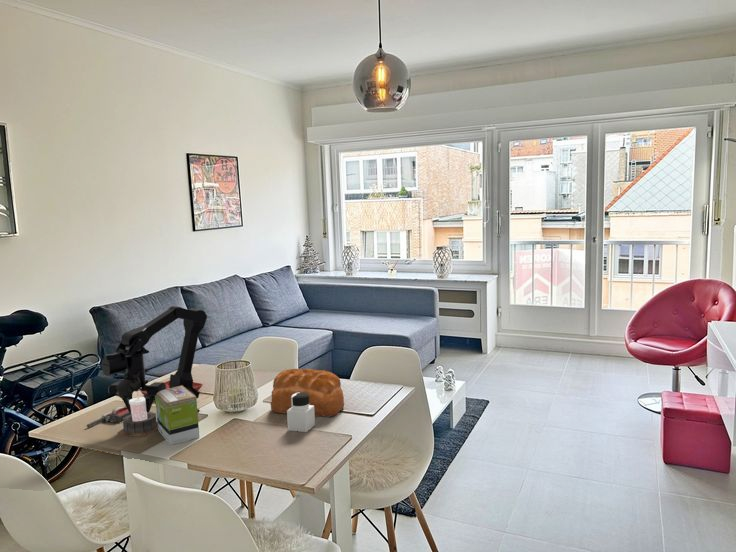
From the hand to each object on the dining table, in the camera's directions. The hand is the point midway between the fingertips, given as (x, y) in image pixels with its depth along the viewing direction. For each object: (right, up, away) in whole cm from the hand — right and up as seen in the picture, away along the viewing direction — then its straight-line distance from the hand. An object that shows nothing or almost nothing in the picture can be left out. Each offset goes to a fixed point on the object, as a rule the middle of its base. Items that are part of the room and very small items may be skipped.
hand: (139, 411), depth 196 cm
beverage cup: (0, -5, +1) cm, 5 cm away
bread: (+57, -3, +16) cm, 59 cm away
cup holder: (0, -6, +1) cm, 6 cm away
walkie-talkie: (-13, -6, +12) cm, 19 cm away
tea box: (+15, -7, -5) cm, 17 cm away
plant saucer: (-2, -3, +39) cm, 39 cm away
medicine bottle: (+57, -5, -2) cm, 57 cm away
